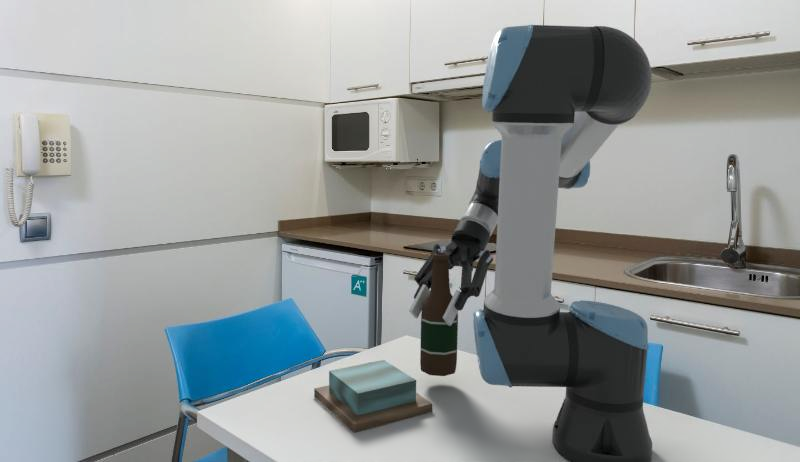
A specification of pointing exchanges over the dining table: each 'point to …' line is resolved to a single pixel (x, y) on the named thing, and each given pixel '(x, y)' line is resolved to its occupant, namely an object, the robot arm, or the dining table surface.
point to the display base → (372, 416)
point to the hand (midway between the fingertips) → (429, 317)
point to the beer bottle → (438, 323)
